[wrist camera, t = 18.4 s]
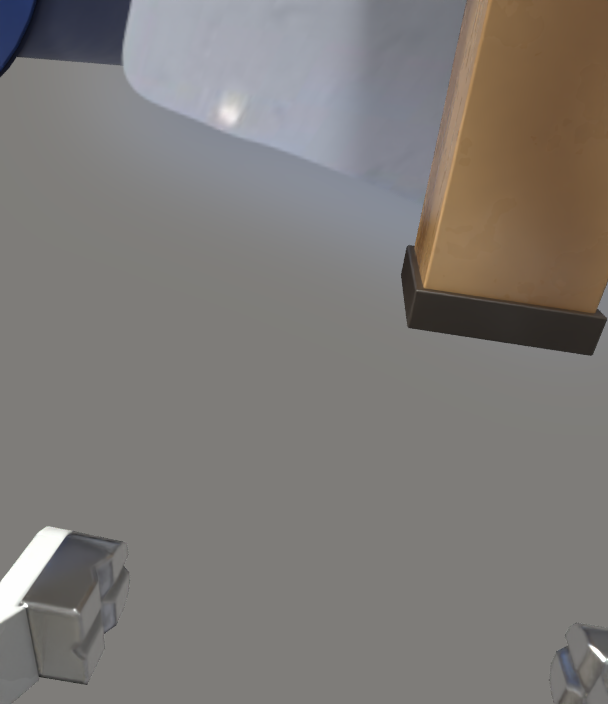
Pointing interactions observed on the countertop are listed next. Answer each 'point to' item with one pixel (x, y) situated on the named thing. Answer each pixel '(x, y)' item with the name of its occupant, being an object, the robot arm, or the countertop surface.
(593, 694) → the robot arm
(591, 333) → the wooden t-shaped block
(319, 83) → the countertop surface
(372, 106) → the countertop surface
